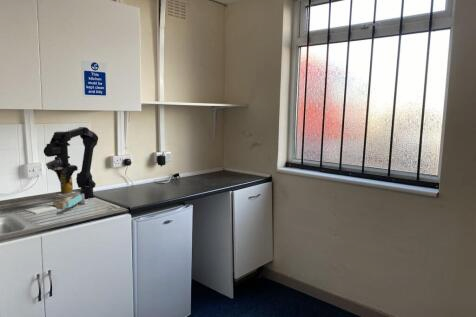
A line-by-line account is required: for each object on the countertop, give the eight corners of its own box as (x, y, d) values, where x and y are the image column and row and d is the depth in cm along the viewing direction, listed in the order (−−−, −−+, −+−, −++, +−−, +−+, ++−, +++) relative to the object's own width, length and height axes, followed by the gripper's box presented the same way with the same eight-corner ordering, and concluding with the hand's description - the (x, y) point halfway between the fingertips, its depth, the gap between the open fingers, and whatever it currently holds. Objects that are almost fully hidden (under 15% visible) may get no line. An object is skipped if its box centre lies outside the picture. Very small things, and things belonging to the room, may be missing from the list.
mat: (46, 205, 202) (46, 204, 202) (56, 209, 196) (56, 207, 196) (25, 210, 193) (25, 209, 193) (36, 213, 187) (35, 212, 187)
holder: (73, 201, 212) (73, 191, 211) (85, 204, 205) (84, 193, 205) (53, 205, 202) (52, 195, 201) (65, 209, 196) (64, 198, 195)
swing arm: (80, 199, 203) (80, 194, 203) (82, 199, 203) (82, 194, 203) (66, 207, 187) (65, 202, 187) (68, 207, 187) (68, 202, 187)
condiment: (75, 192, 202) (74, 171, 201) (59, 195, 197) (57, 173, 195) (70, 191, 208) (69, 170, 206) (55, 193, 202) (53, 172, 201)
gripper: (38, 154, 197) (40, 183, 200) (57, 157, 187) (59, 187, 189) (58, 152, 207) (60, 179, 209) (77, 155, 196) (79, 183, 198)
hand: (64, 182), depth 201 cm, fingers closed on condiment, 6 cm apart
